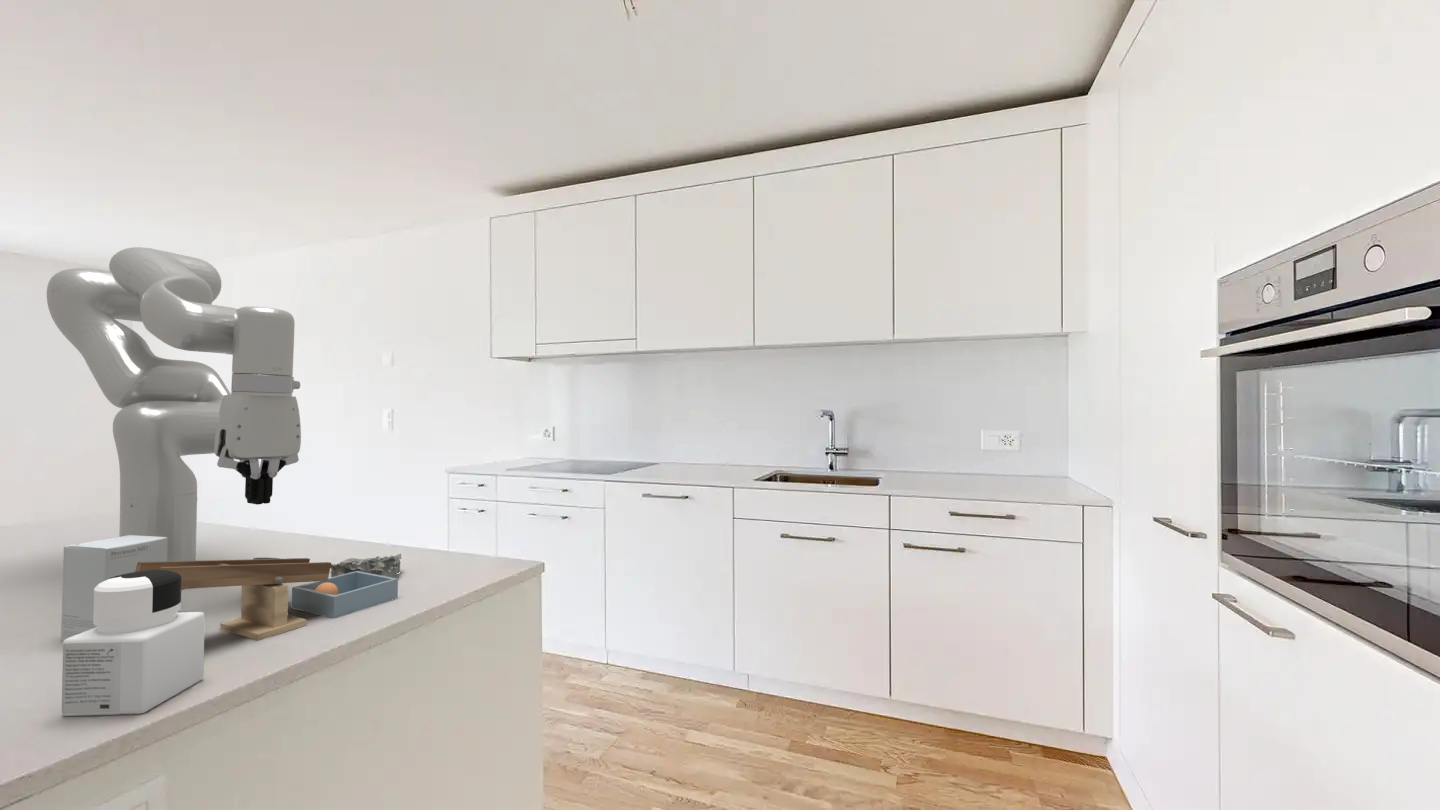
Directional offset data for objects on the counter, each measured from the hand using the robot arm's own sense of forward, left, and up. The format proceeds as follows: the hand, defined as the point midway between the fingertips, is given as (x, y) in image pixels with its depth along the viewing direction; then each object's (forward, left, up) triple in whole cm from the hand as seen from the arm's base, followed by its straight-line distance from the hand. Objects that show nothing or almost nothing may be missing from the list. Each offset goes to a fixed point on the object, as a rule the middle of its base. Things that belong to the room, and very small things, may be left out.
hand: (258, 502), depth 91 cm
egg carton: (+2, +16, -16) cm, 23 cm away
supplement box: (-3, -15, -16) cm, 22 cm away
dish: (+12, +6, -16) cm, 21 cm away
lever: (+7, -8, -9) cm, 14 cm away
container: (+22, -22, -16) cm, 35 cm away
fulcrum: (+12, -5, -16) cm, 21 cm away
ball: (+10, +4, -14) cm, 18 cm away
